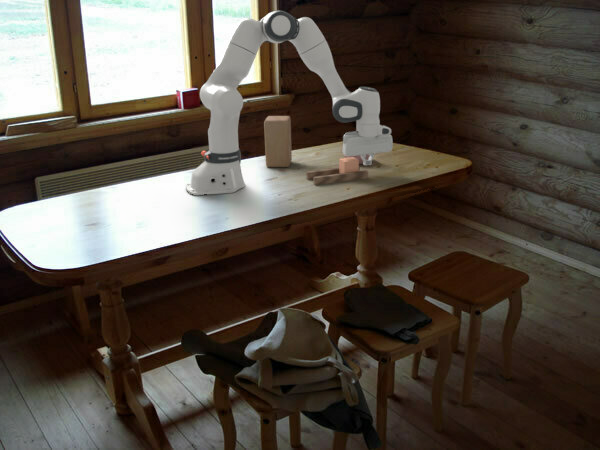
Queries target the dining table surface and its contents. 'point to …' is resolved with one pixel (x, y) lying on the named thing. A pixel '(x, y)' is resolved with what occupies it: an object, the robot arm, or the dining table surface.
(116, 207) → the dining table surface
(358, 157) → the mortar and pestle
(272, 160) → the wooden block
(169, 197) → the dining table surface
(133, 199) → the dining table surface
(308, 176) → the chute
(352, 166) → the block
